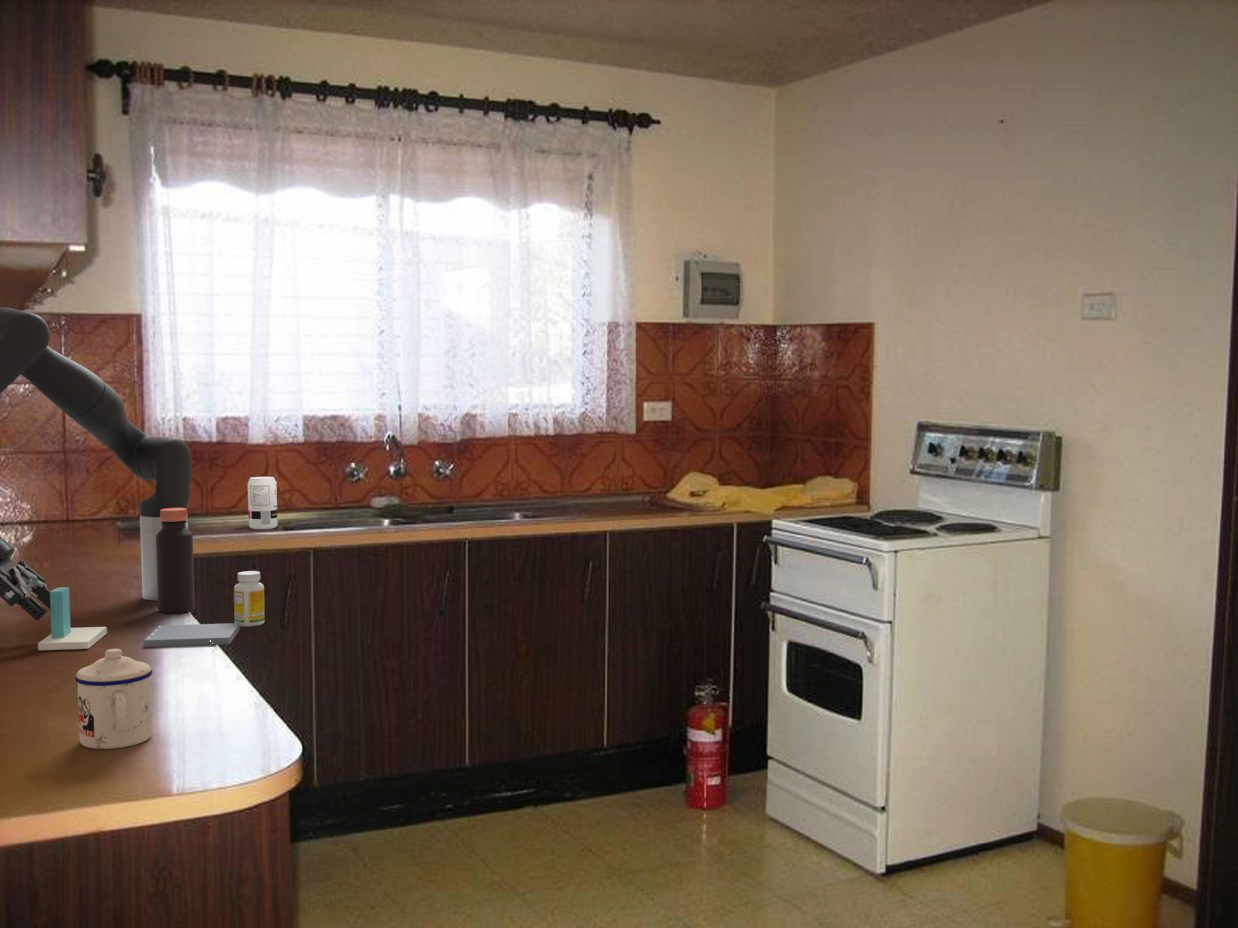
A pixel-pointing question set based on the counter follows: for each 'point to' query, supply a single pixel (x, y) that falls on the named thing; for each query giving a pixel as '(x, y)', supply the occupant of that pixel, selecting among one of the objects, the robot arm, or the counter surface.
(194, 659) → the counter surface
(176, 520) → the vinegar
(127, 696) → the teacup with lid
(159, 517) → the robot arm
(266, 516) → the supplement can
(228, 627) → the board
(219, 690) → the counter surface
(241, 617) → the supplement bottle
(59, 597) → the teal block on base
